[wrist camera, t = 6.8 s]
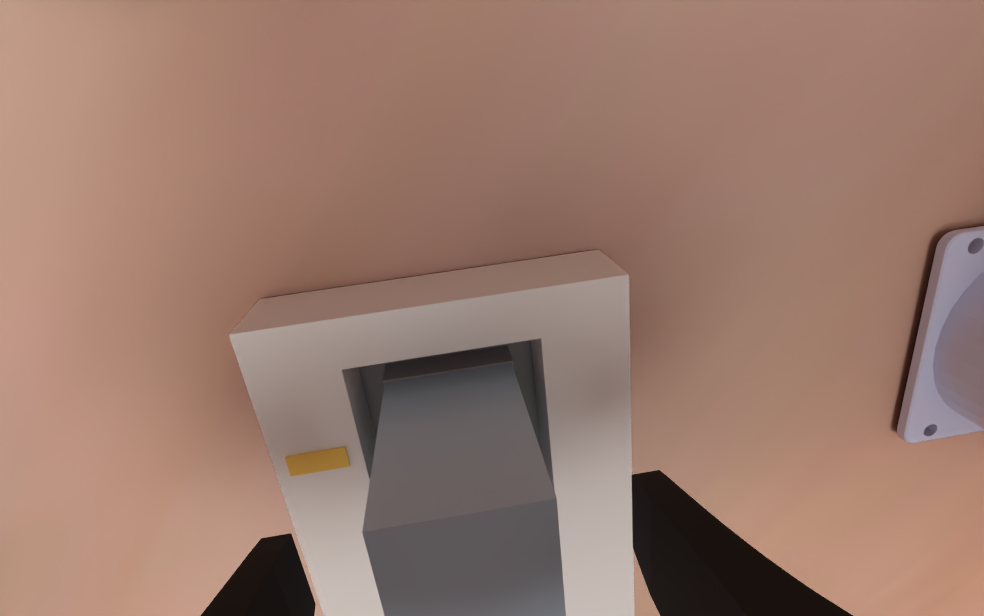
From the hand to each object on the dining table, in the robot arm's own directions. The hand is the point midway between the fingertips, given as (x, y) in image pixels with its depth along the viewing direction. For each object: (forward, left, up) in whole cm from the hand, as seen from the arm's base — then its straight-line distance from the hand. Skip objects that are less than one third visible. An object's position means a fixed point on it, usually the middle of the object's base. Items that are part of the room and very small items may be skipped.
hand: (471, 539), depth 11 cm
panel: (0, +4, -6) cm, 7 cm away
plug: (0, 0, -6) cm, 6 cm away
